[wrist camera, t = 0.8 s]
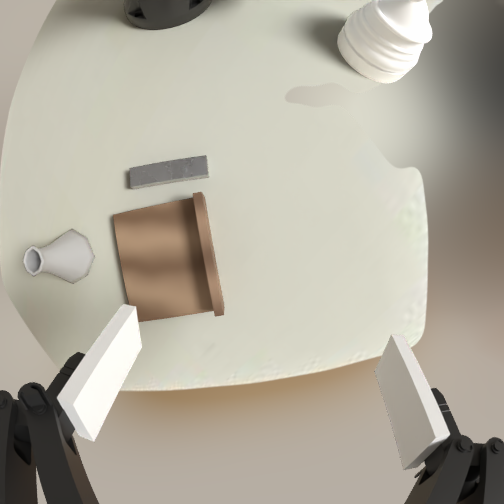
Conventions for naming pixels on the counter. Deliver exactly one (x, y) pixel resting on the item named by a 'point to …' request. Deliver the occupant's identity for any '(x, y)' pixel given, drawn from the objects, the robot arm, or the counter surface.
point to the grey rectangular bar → (169, 172)
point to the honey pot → (385, 38)
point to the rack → (169, 259)
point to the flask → (62, 257)
